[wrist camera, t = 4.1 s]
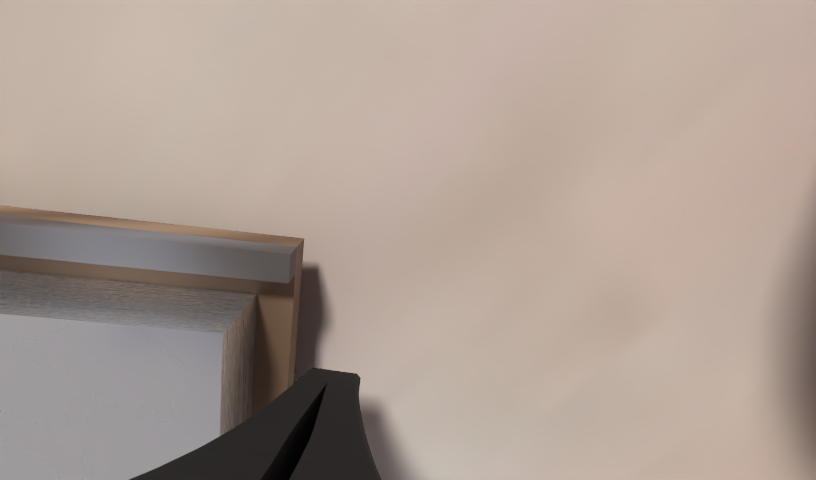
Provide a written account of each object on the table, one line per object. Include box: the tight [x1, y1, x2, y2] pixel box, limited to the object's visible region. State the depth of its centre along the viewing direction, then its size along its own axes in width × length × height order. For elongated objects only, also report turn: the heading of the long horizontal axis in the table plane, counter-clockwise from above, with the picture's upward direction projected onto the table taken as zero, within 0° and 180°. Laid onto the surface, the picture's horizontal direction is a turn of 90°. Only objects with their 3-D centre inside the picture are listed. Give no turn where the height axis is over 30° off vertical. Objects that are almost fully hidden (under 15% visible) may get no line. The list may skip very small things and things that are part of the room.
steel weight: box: [0, 269, 257, 480], centre depth 10 cm, size 8×5×2 cm, turn 83°
